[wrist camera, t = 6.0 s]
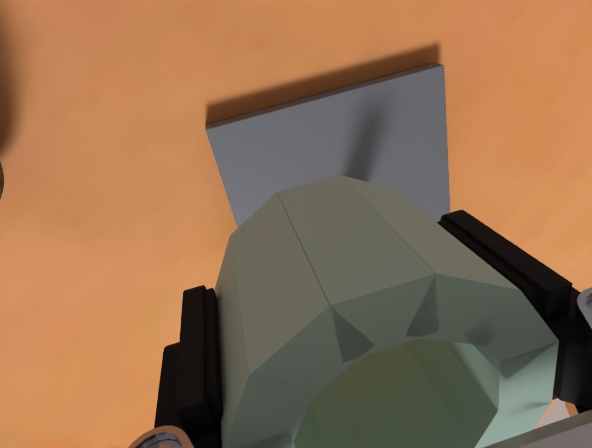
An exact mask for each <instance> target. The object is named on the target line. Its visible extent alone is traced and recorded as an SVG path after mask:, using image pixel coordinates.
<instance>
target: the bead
mask: <svg viewBox="0 0 592 448" xmlns="http://www.w3.org/2000/svg"><path fill="white" fill-rule="evenodd" d="M215 294H216V296H217V310H218V328H219V346H220V364H221V382H222V401H223V416H222V419H221V434H222V448H483V447H486V446H489V445H492V444H494V443H497V442H500V441H503V440H506V439H509V438H511V437H514V436H517V435H520V434H523V433H526V432H528V431H531V430H533V429H534V428H535V426H536V425H537V423H538V422H539V420H540V419H541V418H542V416H543V415H544V413H545V412H546V410H547V409H548V408H549V406H550V405H551V403H552V396H553V387H554V379H555V370H556V361H557V353H558V344H559V340H558V339H557V338H556V336H555V335H554V334H553V332H552V331H551V330H550V328H549V327H548V326H547V324H546V323H545V322H544V320H543V319H542V318H541V317H540V315H539V314H538V313H537V311H536V310H535V309H534V307H533V306H532V305H531V303H530V302H529V301H528V299H527V298H526V297H525V296H524V294H523V293H522V292H521V290H520V289H518V288H517V287H516V286H515V285H513V284H512V283H511V282H510V281H508V280H507V279H506V278H505V277H503V276H502V275H501V274H500V273H498V272H497V271H496V270H495V269H493V268H492V267H491V266H490V265H488V264H487V263H486V262H485V261H484V260H482V259H481V258H480V257H479V256H477V255H476V254H475V253H474V252H472V251H471V250H470V249H469V248H467V247H466V246H465V245H464V244H462V243H461V242H460V241H459V240H457V239H456V238H455V237H454V236H452V235H451V234H450V233H449V232H448V231H446V230H445V229H444V228H443V227H441V226H440V225H439V224H438V223H436V222H435V221H434V220H433V219H431V218H430V217H429V216H428V215H426V214H425V213H424V212H423V211H421V210H420V209H419V208H418V207H416V206H415V205H414V204H413V203H411V202H410V201H409V200H408V199H407V198H405V197H404V196H403V195H402V194H400V193H399V192H398V191H397V190H395V189H392V188H388V187H384V186H381V185H377V184H373V183H369V182H365V181H362V180H358V179H354V178H350V177H346V176H343V175H336V176H333V177H329V178H325V179H322V180H318V181H314V182H311V183H307V184H303V185H300V186H296V187H292V188H289V189H285V190H282V191H278V192H276V193H275V194H274V195H273V196H272V197H271V198H270V199H268V200H267V201H266V202H265V203H264V204H263V205H262V206H261V207H260V208H259V209H258V210H257V211H256V212H255V213H254V214H253V215H252V216H250V217H249V218H248V219H247V220H246V221H245V222H244V223H243V224H242V225H241V226H240V227H239V228H238V229H237V230H236V231H235V232H234V233H232V234H231V235H230V237H229V241H228V244H227V248H226V251H225V255H224V258H223V262H222V266H221V269H220V273H219V276H218V280H217V283H216V287H215Z"/></svg>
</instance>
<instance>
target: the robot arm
mask: <svg viewBox="0 0 592 448" xmlns="http://www.w3.org/2000/svg"><path fill="white" fill-rule="evenodd" d="M437 223H438V224H439V225H440V226H441V227H443V228H444V229H445V230H446V231H448V232H449V233H450V234H451V235H452V236H454V237H455V238H456V239H457V240H459V241H460V242H461V243H462V244H464V245H465V246H466V247H467V248H469V249H470V250H471V251H472V252H474V253H475V254H476V255H477V256H479V257H480V258H481V259H482V260H484V261H485V262H486V263H487V264H488V265H490V266H491V267H492V268H493V269H495V270H496V271H497V272H498V273H500V274H501V275H502V276H503V277H505V278H506V279H507V280H508V281H510V282H511V283H512V284H513V285H515V286H516V287H517V288H518V289H520V290H521V292H522V293H523V294H524V296H525V297H526V298H527V299H528V301H529V302H530V303H531V305H532V306H533V307H534V309H535V310H536V311H537V313H538V314H539V315H540V317H541V318H542V319H543V320H544V322H545V323H546V324H547V326H548V327H549V328H550V330H551V331H552V332H553V334H554V335H555V336H556V338H557V339H558V340H559V344H558V353H557V361H556V370H555V379H554V387H553V396H552V400H553V399H556V398H559V399H560V400H562V401H565V405H566V408H567V410H568V413H569V415H570V417H569V418H566V419H563V420H560V421H557V422H555V423H551V424H549V425H546V426H543V427H540V428H537V429H534V430H531V431H528V432H526V433H523V434H520V435H517V436H514V437H511V438H509V439H506V440H503V441H500V442H497V443H494V444H492V445H489V446H486V447H483V448H592V287H591V288H589V289H586V290H584V291H583V292H581V293H580V292H579V291H577V290H576V289H575V288H573V287H572V283H571V282H569V281H568V280H566V279H565V278H563V277H562V276H560V275H559V274H557V273H556V272H555V271H553V270H552V269H550V268H549V267H547V266H546V265H544V264H543V263H541V262H540V261H538V260H537V259H535V258H534V257H532V256H531V255H529V254H528V253H526V252H525V251H523V250H522V249H520V248H519V247H517V246H516V245H514V244H513V243H511V242H510V241H508V240H507V239H505V238H504V237H503V236H501V235H500V234H498V233H497V232H495V231H494V230H492V229H491V228H489V227H488V226H486V225H485V224H483V223H482V222H480V221H479V220H477V219H476V218H474V217H473V216H471V215H470V214H468V213H467V212H465V211H464V210H458V211H455V212H451V213H448V214H445V215H442V216H441V219H440V221H438V222H437ZM222 416H223V401H222V382H221V364H220V346H219V328H218V310H217V296H216V294H215V291H214V289H213V288H210V289H207V290H206V287H205V286H204V285H202V286H199V287H195V288H192V289H188V290H185V291H184V292H183V303H182V316H181V330H180V342H178V343H175V344H171V345H168V346H166V347H165V348H164V352H163V360H162V368H161V376H160V384H159V392H158V401H157V409H156V417H155V425H154V429H152V430H150V431H148V432H146V433H144V434H142V435H141V436H140V437H139V438H138V439H136V440H135V441H134V442H133V443H132V444H131V445H130V446H129V447H128V448H222V434H221V419H222Z"/></svg>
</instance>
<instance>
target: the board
mask: <svg viewBox="0 0 592 448" xmlns="http://www.w3.org/2000/svg"><path fill="white" fill-rule="evenodd" d="M205 126H206V132H207V135H208V138H209V141H210V144H211V147H212V150H213V153H214V156H215V160H216V163H217V166H218V169H219V172H220V175H221V178H222V181H223V184H224V187H225V190H226V193H227V196H228V199H229V202H230V205H231V209H232V212H233V215H234V218H235V221H236V224H237V227H238V228H239V227H240V226H241V225H242V224H243V223H244V222H245V221H246V220H247V219H248V218H249V217H250V216H252V215H253V214H254V213H255V212H256V211H257V210H258V209H259V208H260V207H261V206H262V205H263V204H264V203H265V202H266V201H267V200H268V199H270V198H271V197H272V196H273V195H274V194H275V193H276V192H278V191H282V190H285V189H289V188H292V187H296V186H300V185H303V184H307V183H311V182H314V181H318V180H322V179H325V178H329V177H333V176H336V175H343V176H346V177H350V178H354V179H358V180H362V181H365V182H369V183H373V184H377V185H381V186H384V187H388V188H392V189H395V190H397V191H398V192H399V193H400V194H402V195H403V196H404V197H405V198H407V199H408V200H409V201H410V202H411V203H413V204H414V205H415V206H416V207H418V208H419V209H420V210H421V211H423V212H424V213H425V214H426V215H428V216H429V217H430V218H431V219H433V220H434V221H435V222H436V223H437V222H438V221H440V219H441V216H442V215H445V214H448V213H450V196H449V172H448V148H447V125H446V101H445V77H444V65H440V64H434V63H432V64H428V65H424V66H421V67H417V68H413V69H410V70H406V71H402V72H399V73H395V74H391V75H387V76H384V77H380V78H376V79H373V80H369V81H365V82H362V83H358V84H354V85H350V86H347V87H343V88H339V89H336V90H332V91H328V92H325V93H321V94H317V95H314V96H310V97H306V98H302V99H299V100H295V101H291V102H288V103H284V104H280V105H277V106H273V107H269V108H265V109H262V110H258V111H254V112H251V113H247V114H243V115H240V116H236V117H232V118H229V119H225V120H221V121H217V122H214V123H210V124H206V125H205Z"/></svg>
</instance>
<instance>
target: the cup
mask: <svg viewBox="0 0 592 448" xmlns="http://www.w3.org/2000/svg"><path fill="white" fill-rule="evenodd" d="M3 187H4V174H3V169H2V165H1V162H0V199H1V196H2V192H3Z"/></svg>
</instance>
